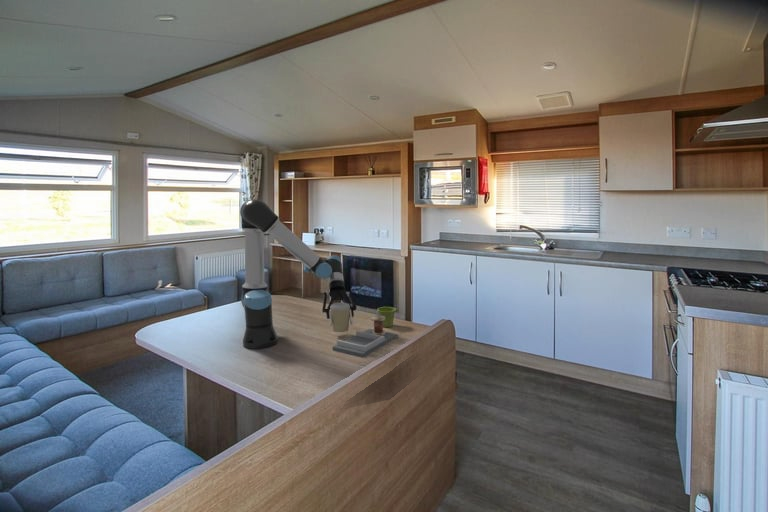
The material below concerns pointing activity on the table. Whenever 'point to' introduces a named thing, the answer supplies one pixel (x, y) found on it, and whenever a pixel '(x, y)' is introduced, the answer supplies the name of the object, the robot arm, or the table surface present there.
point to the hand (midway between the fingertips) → (341, 323)
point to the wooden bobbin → (378, 325)
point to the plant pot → (387, 315)
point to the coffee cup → (340, 316)
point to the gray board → (363, 343)
